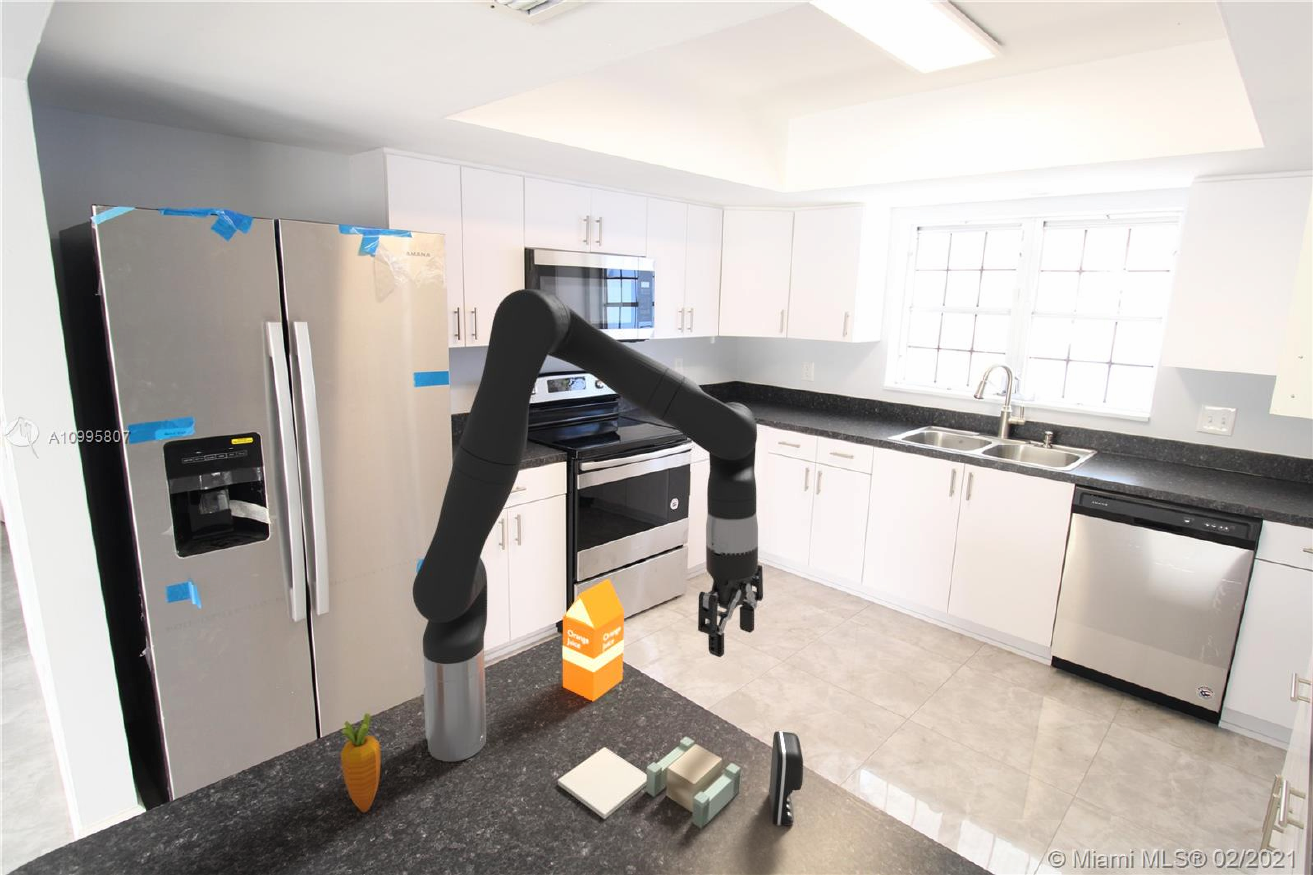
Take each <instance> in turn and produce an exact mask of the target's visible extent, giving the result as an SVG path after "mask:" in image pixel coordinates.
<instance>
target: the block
mask: <svg viewBox="0 0 1313 875" xmlns="http://www.w3.org/2000/svg"><path fill="white" fill-rule="evenodd" d="M722 767H723V759H722V758H721V757H719V756H718V755H716V754H715V753H713V752H711V751H709V750H707V749H706V748H704V747H702V746H700V745H699V744H697V743H694V746H693V747H691V748H690V749H689V750H688V751H687V752H685V753H684V754H683V755H682V756H681V757H679V758H678V759H677V760H676V761H675V762H673V763H672V764H671V765H670V766H668V767H667V786H666V788H665V789H666V794H665V795H666V797H668V798H669V799H671V800H673V801H674V802H676V804H679V805H680V806H682V807H683V808H684V809H686V810H688V811H689V812H691V813H692V814H693V802H694V797H695V796H696V795H697V794H698V793H699V792H700V791H701V792H702V793H704V792H705V791H706V790H707V789H708V788H709V787H710V786H711V785H712V784H713V783H714V782H716V781H717V780H718V779H719V778H720V777H721V776H722V771H723V770H722V769H723V768H722Z"/></svg>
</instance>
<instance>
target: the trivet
mask: <svg viewBox="0 0 1313 875" xmlns="http://www.w3.org/2000/svg"><path fill="white" fill-rule="evenodd" d="M646 777H647V773H645V771H642V770H641V769H639V768H637V767H636V766H634V765H633V764H631V763H630V762H629V761H626V759H624V758H622V757H621V756H619V755H618V754H616V753H615V752H613V751H611V750H610V749H608V748H607V747H605V746H604V747H603V748H601V749H600V750H598V751H597V752H595V753H594V754H592V755H591V756H590V757H588V758H587V759H586V760H584V761H583V762H581V763H580V764H578V765H577V766H576V767H574V768H572V769H571V770H570V771H568V772H567V773H565V774H564V775H563V776H561V777H560V778H558V779H557V785H558V786H559V787H561V788H562V789H563V790H565V791H566V792H568V793H569V794H571V795H572V796H573V797H574V798H576V799H577V800H578V801H579V802H581V803H582V804H584V805H585V806H586V807H588V808H589V809H591V811H592V812H594V813H596V814H597V815H598V816H600V817H601V818H602V819H604V820H606V819H607V818H608V817H610V815H612V814H613V813H614V812H615V811H617V810H618V809H619V808H621V807H622V806H624V804H626V803H627V802H628V801H630V799H632V798H633V797H634V796H635V795H636V794H638V793H639V792H640V791H641V790H643V789H644V788H646Z"/></svg>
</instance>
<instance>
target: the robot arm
mask: <svg viewBox="0 0 1313 875" xmlns="http://www.w3.org/2000/svg"><path fill="white" fill-rule="evenodd" d="M548 356H549V357H552V358H555V359H557V360H561V361H563V362H566V363H569V364H571V365H573V366H575V367H576V368H579V369H581V370H583V371H585V372H586V373H588V374H589V375H591V376H593V377H594V378H596V379H597V380H598V381H600V382H602V383H603V384H604V385H605V386H607V387H608V388H609V389H610V390H612V391H613V392H614V393H615V394H617V395H618V396H619V397H621V398H622V399H623V400H625V401H626V402H628V403H629V404H631V405H633V406H634V407H636V408H637V409H639V410H641V411H642V412H645V413H646V414H649V415H650V416H652V417H654V418H656V419H658V420H659V421H661V422H663V423H666V424H668V425H669V426H671V427H673V428H675V429H676V430H677V431H679V432H680V433H681V434H683V435H684V436H685V437H687V438H688V439H689V440H690V441H691V442H693V443H695V444H696V445H697V446H698V447H700V448H702V449H703V450H704V451H706V452H707V453H709V455H708V456H709V457H708V458H709V474H708V481H707V492H706V494H707V495H706V496H707V498H706V499H707V503H706V504H707V508H706V510H707V513H706V514H707V516H706V524H705V550H706V551H705V557H706V558H705V560H706V561H705V562H706V563H705V564H706V566H705V568H706V571H707V573H708V574H709V575H710V576H711V578H712V587H711V590H710V591H708V592H705V591H700V592H699V594H698V610H697V611H698V613H697V615H698V616H697V618H698V619H697V631H698V632H700V633H704V634H706V635H708V638H707V639H708V642H707V643H708V651H709V653H710V654H711V655H712V656H715V657H718V658H721V657H722V656H724V655H725V632H724V631H725V628H726V625H727V622H728V621H730V620H731V619H732V617H733V614H734V612H735V610H736V609H737V607H738V606H740V607H739V628H740V630H742V631H743V632H746V633H749V634H750V633H752V632H753V631H754V630H755V610H756V609H757V606H758V601H759V602H762V600H764V599H763V598H764V583H763V580H764V578H763V566H762V565H761V564H759V524H758V517H757V499H758V498H757V482H756V475H755V474H756V473H755V465H756V445H757V439H758V428H757V426H758V424H757V419H756V417H755V415H754V413H753V412H752V411H751V410H750V409H749V408H748V407H747V406H745V404H742V403H739V402H734V401H733V402H732V401H731V402H726V403H723V402H722V401H720V400H719V399H717V398H715V397H713V396H711V395H709V394H708V393H706V392H704V391H703V389H702V388H701V387H700V385H698V384H697V383H696V382H694V380H691V379H690V378H689V377H687V376H686V377H685V375H683V374H681V373H679V372H678V371H675V370H674V369H672V368H670V367H669V366H666V365H665V364H662V363H660V362H658V361H657V360H655V359H653V358H652V357H649V356H647V355H646V354H644V353H641V352H639V351H637V350H635V349H633V348H632V347H630V346H628V345H626V344H624V343H623V342H620V341H619V340H616V339H615V338H613V337H612V336H610V335H609V334H607V333H606V332H604V331H602V330H601V329H599V328H597V327H596V326H595V325H594V324H593V323H590V322H589V321H588V320H586V318H584V317H583V316H581V315H580V314H579V313H578V312H577V311H575V310H574V309H573V308H571V307H570V306H569V305H567V304H566V303H565V302H564V301H562V300H561V299H560V297H558V296H557V295H555V294H554V293H553V292H549V291H547V290H542V289H535V288H534V289H533V288H531V289H529V288H523V289H518V290H515V291H512V292H511V293H509V294H508V295H506V296H505V297H504V298H503V300H502V301H501V302H500V303H499V304H498V307H497V308H496V310H495V313H494V316H493V321H492V325H491V330H490V334H489V340H488V346H487V351H486V357H485V361H484V366H483V371H482V376H481V378H480V383H479V386H478V388H477V391H476V394H475V397H474V400H473V402H472V405H471V407H470V411H469V414H468V418H467V420H466V424H465V427H464V430H463V432H462V435H461V438H460V441H459V444H458V447H457V450H456V454H455V456H454V461H453V463H452V467H451V470H450V475H449V479H448V483H447V485H446V486H447V487H446V488H445V489H446V490H445V491H444V492H445V494H444V497H443V501H442V505H441V508H440V514H439V517H438V522H437V525H436V529H435V532H434V535H433V537H432V540H431V542H430V544H429V547H428V549H427V551H426V554H425V556H424V558H423V560H422V563H421V565H420V567H419V569H418V571H417V573H416V576H415V577H414V581H413V584H412V585H413V586H412V598H413V603H414V605H415V606H414V607H416V609H417V611H418V613H419V614H421V616H422V617H423V618H425V619H426V620H427V623H426V627H425V629H424V633H423V636H422V656H423V671H424V672H423V673H424V674H423V675H424V687H423V706H424V708H423V709H424V726H425V727H424V728H425V739H427V740H426V741H427V749H428V753H429V752H430V753H429V754H430V756H432V757H433V758H434V757H435V758H434V759H435V760H438V761H441V760H442V762H447V763H448V762H451V763H453V762H459V761H463V760H467V759H469V758H471V757H473V756H475V755H476V754H478V753H479V752H481V750H482V749H483V748H484V747H485V745H486V743H487V742H486V741H487V706H486V702H487V701H486V699H487V698H486V670H485V669H486V668H485V662H486V661H485V632H486V628H487V623H488V575H487V569H486V566H485V563H484V561H483V559H482V558H481V555H482V553H483V549H484V547H485V544H486V542H487V539H488V537H489V535H490V534H491V532H492V530H493V528H494V526H495V524H496V523H497V521H498V519H499V517H500V516H501V513H502V511H503V509H504V508H505V505H506V504H507V501H508V499H509V497H510V495H511V492H512V490H513V488H514V486H515V483H516V481H517V477H518V475H519V471H520V468H521V465H522V463H523V460H524V455H525V453H526V448H527V442H528V433H529V432H528V431H529V412H530V403H531V398H532V394H533V391H534V388H535V387H536V386H535V385H536V383H537V380H538V378H539V375H540V373H541V370H542V367H543V365H544V363H545V361H546V359H547V357H548ZM754 587H755V589H756V590H753V588H754ZM718 607H720V608H721V609H724V610H725V611H721V610H718ZM718 618H720V619H719V622H718ZM483 746H484V747H483Z"/></svg>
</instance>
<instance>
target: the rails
mask: <svg viewBox="0 0 1313 875" xmlns="http://www.w3.org/2000/svg"><path fill="white" fill-rule="evenodd" d="M694 745H695V741H694V740H693V739H691V738H690V737H688V736H684V738H682V739H681V740H679V745H678V746H677V747H675V748H674V749H673V750H672V751H671V752H669V753H668V754H667V755H665V756H664V757H662V758H661V760H659V761H657V763H656V762H654V761H653V762H652V763H651V764H649V765H647V767H646V774H647V777H646V786H645V792H646V793H648V794H649V795H650V796H652V797H656V796H657V795H658V794H659V793H661V792H662V791H663V790H664V789H666V788H667V767H668V766H670V765H671V764H672V763H673V762H675V761H676V760H677V759H678V758H679V757H681V756H682V755H683V754H684V753H685V752H687V751H688V750H689V749H690V748H691V747H693V746H694ZM740 782H741V767H740V766H738V765H737V764H734V763H733V762H731V763H730V764H728V766H727V767H726V768H725V772H724V773H723V774H721V777H720V778H719V779H718V780H717V781H716V782H714V783H713V784H712V785H711V786H710V787H709V788H708V789H707V790H706V791H705V792H704V793H702V792H701V791H700V792H699V793H698V794H697V795H696V796H695V797H694V802H693V813H692V819H691V820H692V821H691V822H692V824H694V825H696V826H697V827H698V828H699V829H703V828H704V827H705V825H707V824H708V823H709V822H710V821H711V820H712V819H713V818H714V817H716V815H717V814H718V813H719V812H720V811H721V810H722V809H723V808H724V807H725V806H726V805H727V804H728V803H729V802H731V800H732V799H733V798H734V797H736V795H737V794H738V793H739V792H740Z"/></svg>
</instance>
